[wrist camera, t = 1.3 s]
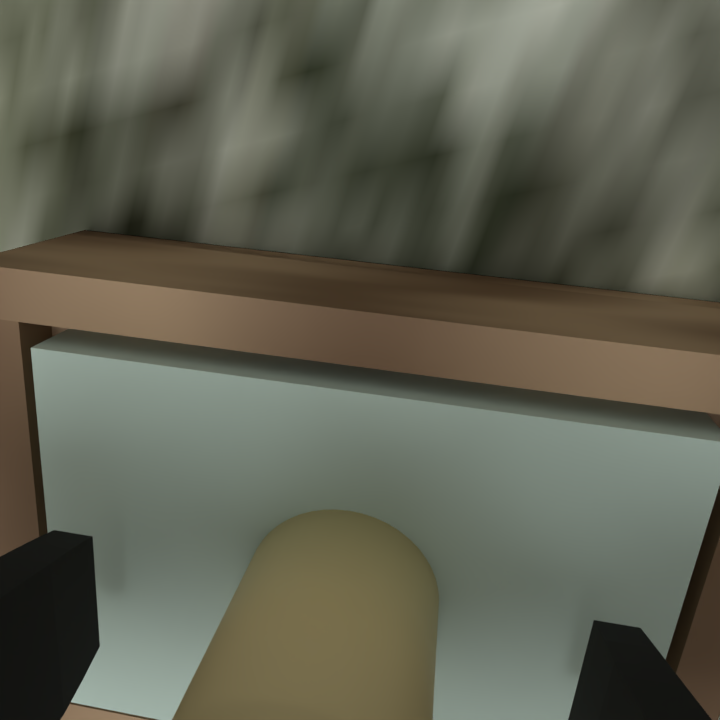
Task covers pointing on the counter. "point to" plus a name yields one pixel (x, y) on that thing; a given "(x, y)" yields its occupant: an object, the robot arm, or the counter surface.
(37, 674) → the robot arm
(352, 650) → the lid
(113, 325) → the box
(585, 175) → the counter surface
